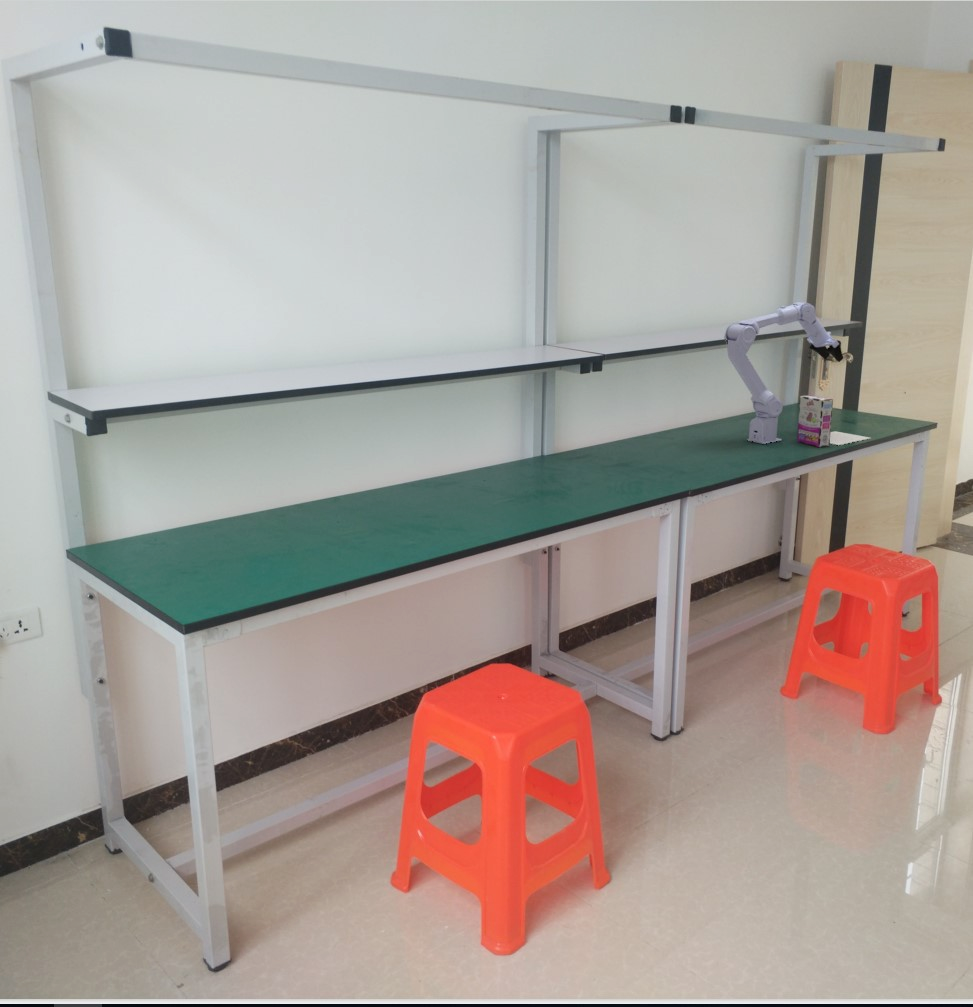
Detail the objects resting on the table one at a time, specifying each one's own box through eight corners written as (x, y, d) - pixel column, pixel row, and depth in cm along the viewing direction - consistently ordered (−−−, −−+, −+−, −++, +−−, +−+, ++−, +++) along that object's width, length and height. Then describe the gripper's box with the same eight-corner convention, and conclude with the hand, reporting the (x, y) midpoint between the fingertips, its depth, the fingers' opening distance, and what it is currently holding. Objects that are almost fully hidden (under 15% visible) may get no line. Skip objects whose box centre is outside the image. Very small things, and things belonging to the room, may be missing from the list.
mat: (838, 445, 333) (838, 444, 332) (802, 439, 345) (803, 437, 344) (871, 438, 342) (871, 437, 342) (835, 432, 354) (835, 431, 354)
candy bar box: (830, 446, 333) (834, 398, 328) (819, 447, 331) (822, 400, 326) (807, 440, 342) (810, 394, 338) (796, 441, 340) (799, 395, 336)
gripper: (836, 324, 332) (855, 353, 338) (810, 320, 345) (828, 348, 351) (822, 338, 332) (841, 367, 337) (796, 334, 345) (815, 361, 351)
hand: (833, 358), depth 344 cm, fingers open, 7 cm apart
